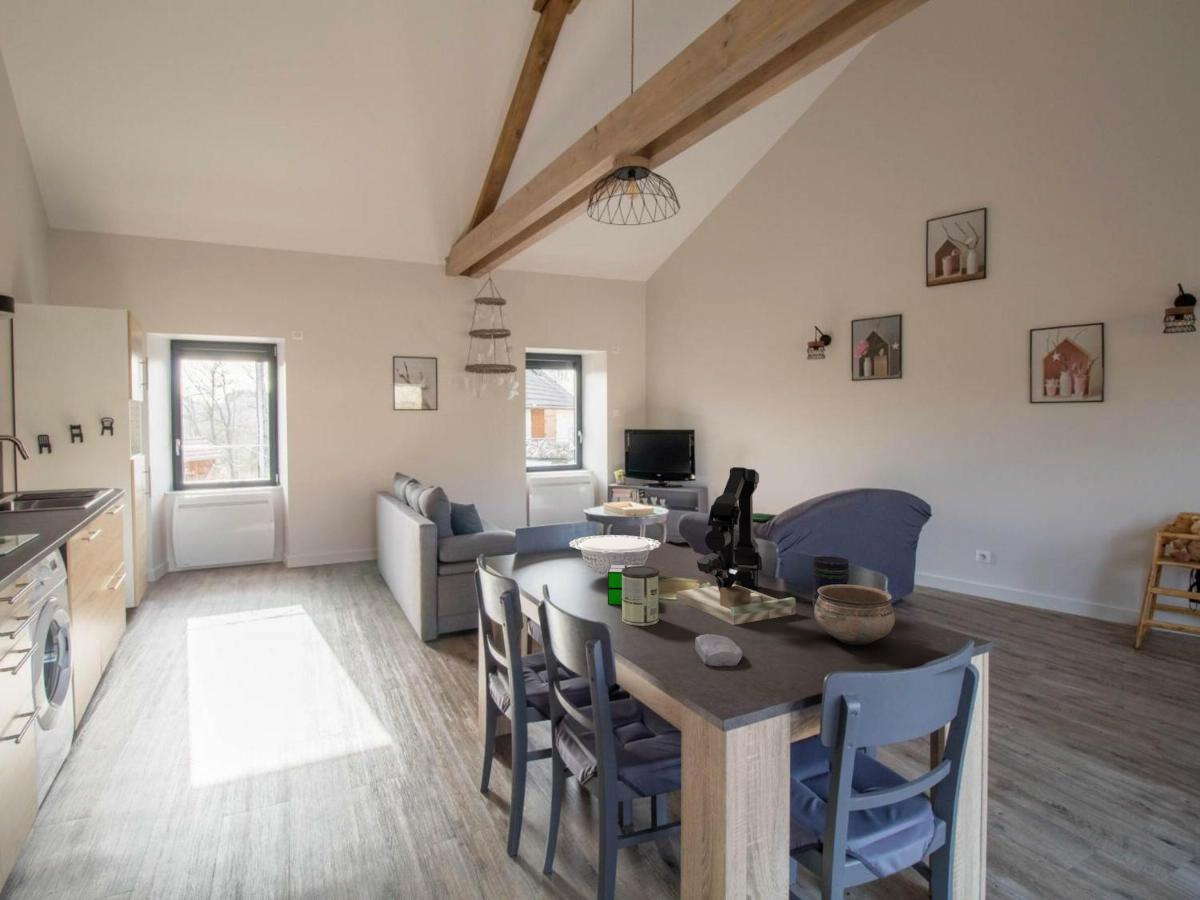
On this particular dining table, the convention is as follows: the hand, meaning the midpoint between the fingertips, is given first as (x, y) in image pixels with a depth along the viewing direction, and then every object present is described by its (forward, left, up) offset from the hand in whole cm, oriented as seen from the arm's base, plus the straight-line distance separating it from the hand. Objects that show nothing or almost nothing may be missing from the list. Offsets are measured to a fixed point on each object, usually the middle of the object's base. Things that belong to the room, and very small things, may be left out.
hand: (723, 598), depth 195 cm
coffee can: (+26, -3, -4) cm, 27 cm away
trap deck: (-5, -2, -4) cm, 7 cm away
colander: (+10, -47, -4) cm, 48 cm away
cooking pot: (-13, +36, -4) cm, 38 cm away
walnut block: (0, +5, -1) cm, 5 cm away
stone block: (+24, +30, -4) cm, 39 cm away
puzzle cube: (+20, -22, -4) cm, 30 cm away
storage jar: (-28, +14, -4) cm, 31 cm away
